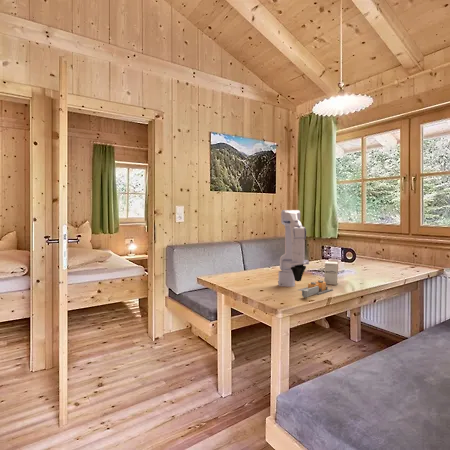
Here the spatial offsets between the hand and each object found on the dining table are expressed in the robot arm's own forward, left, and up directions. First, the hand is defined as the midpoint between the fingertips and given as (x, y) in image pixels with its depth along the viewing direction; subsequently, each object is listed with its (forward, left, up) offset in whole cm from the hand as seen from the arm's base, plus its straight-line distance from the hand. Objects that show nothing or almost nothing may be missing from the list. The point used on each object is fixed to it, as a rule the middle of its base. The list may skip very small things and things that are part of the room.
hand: (298, 280), depth 149 cm
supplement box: (+25, +39, -10) cm, 47 cm away
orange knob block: (+15, +20, -9) cm, 27 cm away
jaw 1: (+10, +16, -9) cm, 21 cm away
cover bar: (+8, +7, -9) cm, 14 cm away
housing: (+12, +19, -10) cm, 24 cm away
